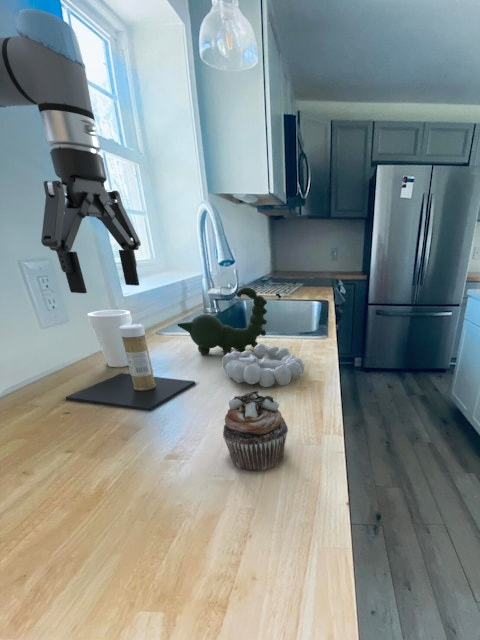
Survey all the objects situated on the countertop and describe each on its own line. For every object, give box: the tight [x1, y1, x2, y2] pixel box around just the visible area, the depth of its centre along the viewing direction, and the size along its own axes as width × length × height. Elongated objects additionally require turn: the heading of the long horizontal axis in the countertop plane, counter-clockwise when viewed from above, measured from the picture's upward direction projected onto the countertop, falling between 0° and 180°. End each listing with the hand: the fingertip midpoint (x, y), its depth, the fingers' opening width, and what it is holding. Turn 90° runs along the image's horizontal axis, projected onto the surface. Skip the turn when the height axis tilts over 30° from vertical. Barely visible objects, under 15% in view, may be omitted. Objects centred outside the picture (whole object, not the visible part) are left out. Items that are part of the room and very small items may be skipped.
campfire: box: [221, 343, 306, 388], centre depth 89 cm, size 22×21×6 cm
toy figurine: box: [176, 287, 268, 356], centre depth 105 cm, size 9×19×25 cm
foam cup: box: [86, 309, 133, 368], centre depth 94 cm, size 10×9×13 cm
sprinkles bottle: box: [119, 323, 156, 391], centre depth 77 cm, size 5×5×13 cm
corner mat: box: [65, 372, 196, 412], centre depth 80 cm, size 20×16×1 cm
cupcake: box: [222, 390, 289, 472], centre depth 54 cm, size 10×10×10 cm
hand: (108, 288), depth 70 cm, fingers open, 13 cm apart
